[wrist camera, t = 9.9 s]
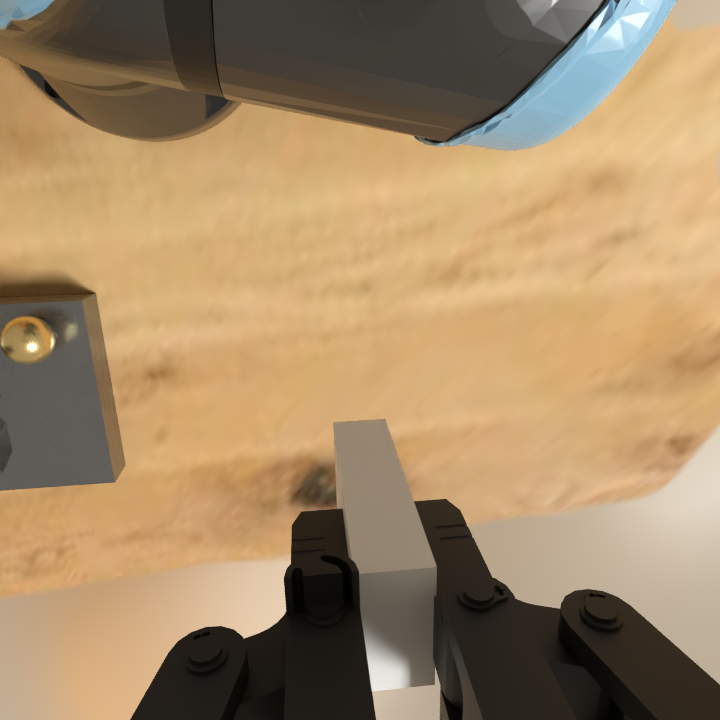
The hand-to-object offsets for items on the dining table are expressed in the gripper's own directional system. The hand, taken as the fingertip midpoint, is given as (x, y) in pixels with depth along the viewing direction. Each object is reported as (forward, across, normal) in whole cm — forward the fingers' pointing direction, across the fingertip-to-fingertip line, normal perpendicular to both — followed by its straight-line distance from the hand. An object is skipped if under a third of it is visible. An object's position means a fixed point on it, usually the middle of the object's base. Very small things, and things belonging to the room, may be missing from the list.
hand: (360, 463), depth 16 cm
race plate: (+24, -22, -6) cm, 34 cm away
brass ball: (+20, -18, -1) cm, 28 cm away
